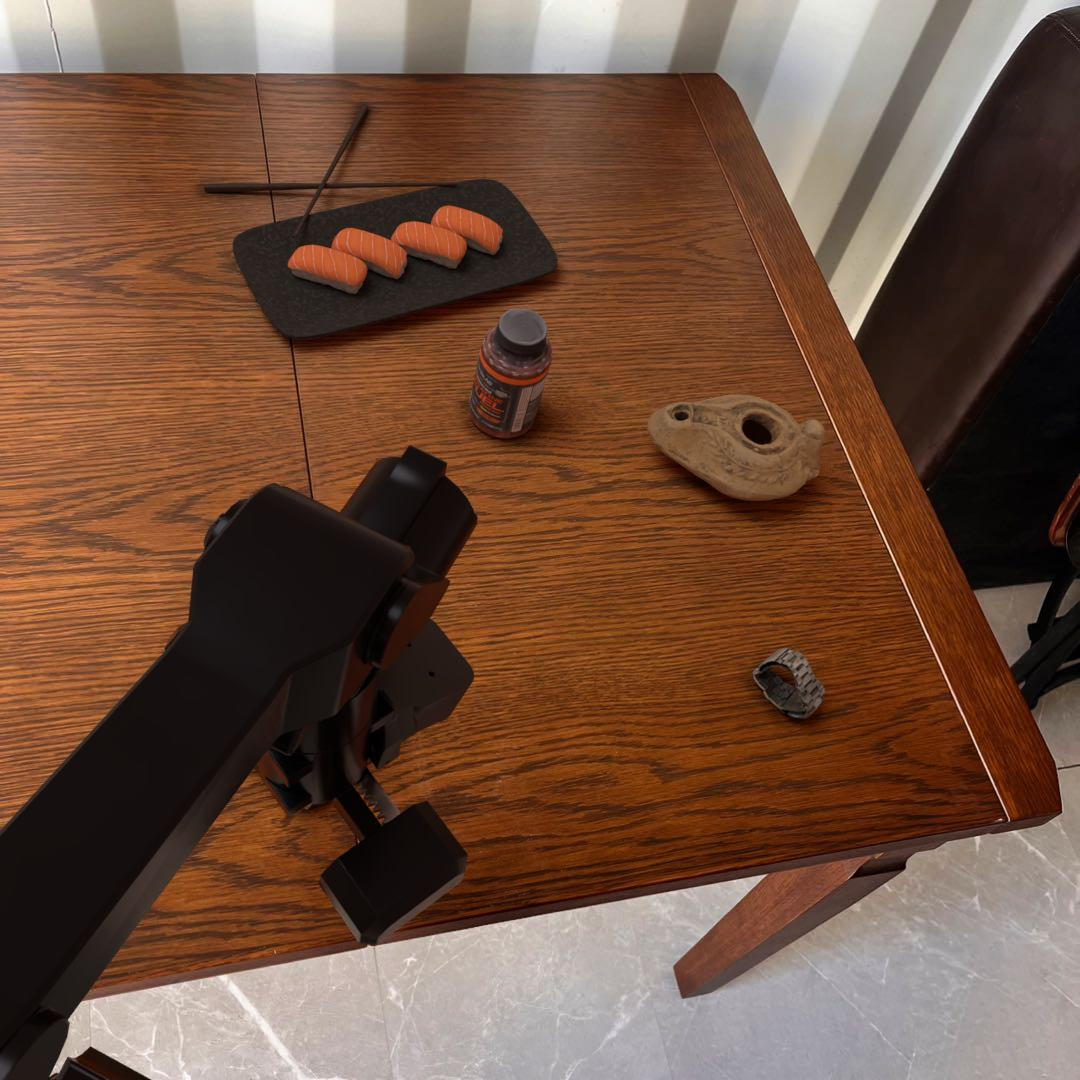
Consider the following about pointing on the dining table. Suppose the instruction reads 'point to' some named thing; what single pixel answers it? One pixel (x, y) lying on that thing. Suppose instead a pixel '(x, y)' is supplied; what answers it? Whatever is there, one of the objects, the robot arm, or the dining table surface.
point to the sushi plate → (387, 252)
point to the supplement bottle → (511, 374)
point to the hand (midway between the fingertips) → (311, 811)
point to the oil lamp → (740, 445)
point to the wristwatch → (784, 695)
